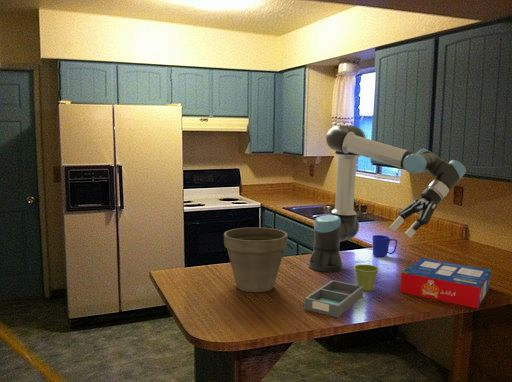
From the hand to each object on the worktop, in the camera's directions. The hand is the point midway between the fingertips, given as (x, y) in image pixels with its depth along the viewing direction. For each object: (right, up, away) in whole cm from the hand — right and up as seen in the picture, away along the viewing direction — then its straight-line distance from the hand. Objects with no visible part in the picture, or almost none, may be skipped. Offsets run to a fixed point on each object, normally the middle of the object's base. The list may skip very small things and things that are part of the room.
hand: (399, 232), depth 185 cm
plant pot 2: (-14, -23, 0) cm, 26 cm away
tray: (-28, -24, -16) cm, 41 cm away
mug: (+8, -17, +50) cm, 53 cm away
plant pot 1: (-58, -21, -1) cm, 62 cm away
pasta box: (+27, -18, +12) cm, 35 cm away
